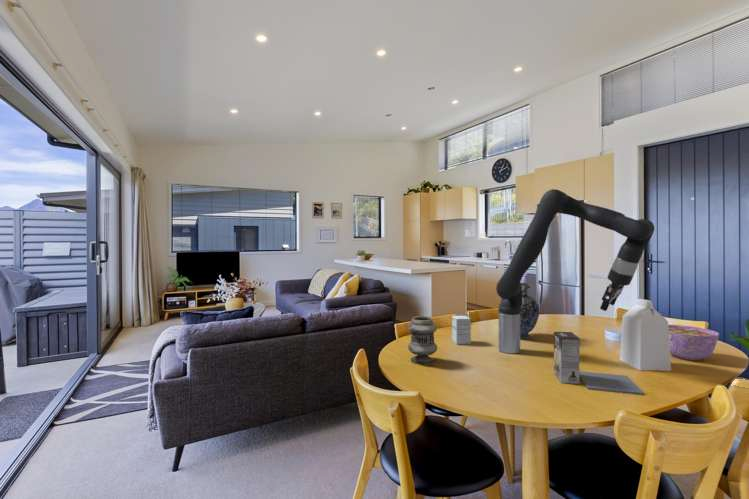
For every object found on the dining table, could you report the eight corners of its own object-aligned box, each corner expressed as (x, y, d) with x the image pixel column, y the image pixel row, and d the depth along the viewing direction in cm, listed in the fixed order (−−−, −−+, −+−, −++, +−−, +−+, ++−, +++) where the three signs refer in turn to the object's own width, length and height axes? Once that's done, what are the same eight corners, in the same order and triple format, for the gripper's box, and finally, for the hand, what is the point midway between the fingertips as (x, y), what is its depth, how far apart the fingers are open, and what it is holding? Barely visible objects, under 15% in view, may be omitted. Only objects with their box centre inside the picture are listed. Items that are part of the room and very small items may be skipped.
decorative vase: (496, 331, 199) (497, 280, 199) (531, 332, 197) (532, 281, 196) (505, 341, 178) (506, 285, 178) (544, 343, 176) (545, 286, 175)
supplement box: (451, 340, 182) (451, 315, 181) (466, 340, 182) (466, 315, 182) (456, 344, 174) (456, 318, 174) (471, 344, 175) (471, 318, 175)
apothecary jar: (404, 363, 147) (404, 319, 147) (412, 355, 159) (411, 314, 158) (434, 366, 143) (434, 321, 143) (439, 357, 155) (439, 316, 154)
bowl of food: (654, 357, 152) (654, 330, 152) (658, 347, 167) (659, 322, 167) (719, 368, 138) (719, 338, 138) (718, 356, 153) (718, 329, 153)
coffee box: (553, 373, 135) (553, 331, 134) (571, 374, 133) (571, 331, 133) (560, 383, 126) (560, 337, 125) (580, 384, 124) (580, 338, 124)
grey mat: (587, 389, 120) (587, 387, 120) (577, 372, 136) (577, 371, 136) (644, 395, 115) (644, 393, 115) (626, 377, 130) (626, 375, 130)
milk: (619, 360, 149) (619, 297, 149) (648, 360, 149) (648, 297, 149) (640, 370, 137) (640, 302, 137) (671, 370, 137) (671, 302, 137)
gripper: (618, 262, 143) (603, 298, 150) (605, 269, 134) (590, 307, 141) (639, 270, 138) (623, 306, 145) (627, 278, 129) (611, 316, 136)
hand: (606, 306), depth 143 cm, fingers open, 8 cm apart
